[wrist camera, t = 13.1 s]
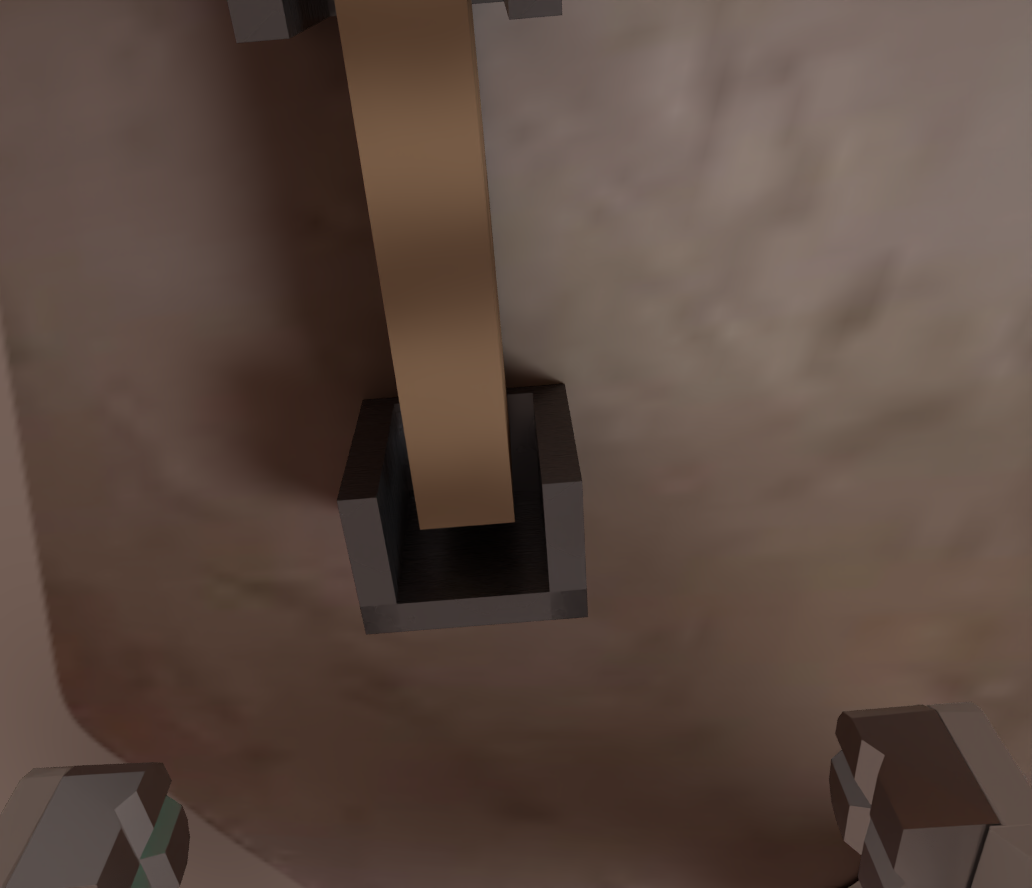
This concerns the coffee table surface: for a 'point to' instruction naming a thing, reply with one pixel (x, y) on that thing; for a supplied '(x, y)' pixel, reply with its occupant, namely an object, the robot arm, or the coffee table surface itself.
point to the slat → (433, 248)
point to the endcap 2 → (467, 528)
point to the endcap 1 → (303, 3)
